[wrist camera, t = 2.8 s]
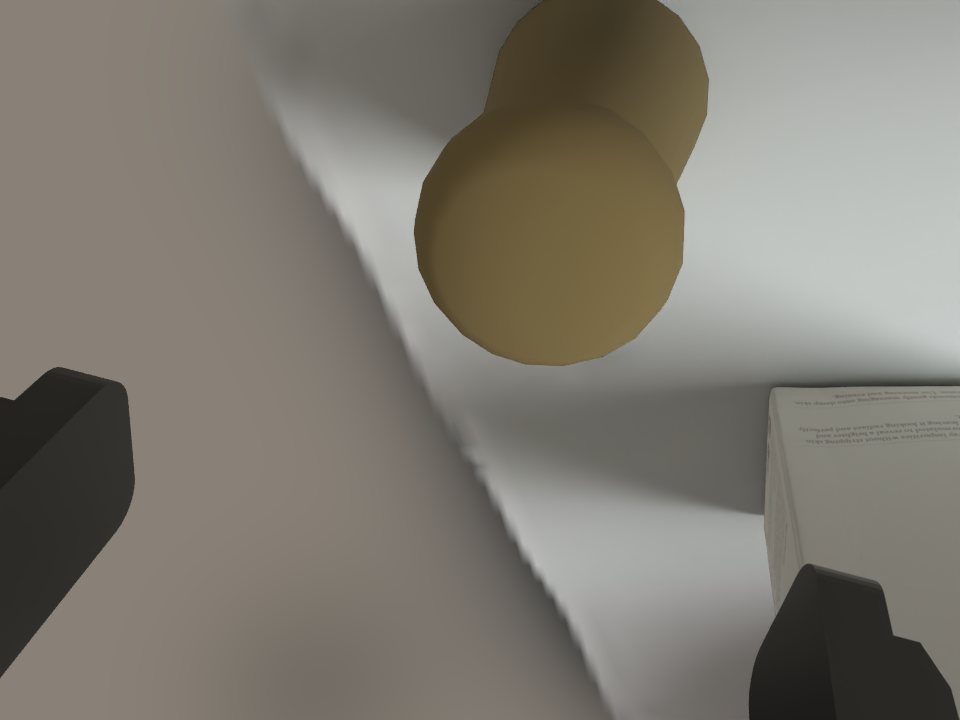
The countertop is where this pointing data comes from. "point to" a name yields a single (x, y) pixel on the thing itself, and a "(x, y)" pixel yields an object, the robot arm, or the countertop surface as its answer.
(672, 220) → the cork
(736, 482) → the countertop surface
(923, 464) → the skincare box
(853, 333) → the countertop surface
